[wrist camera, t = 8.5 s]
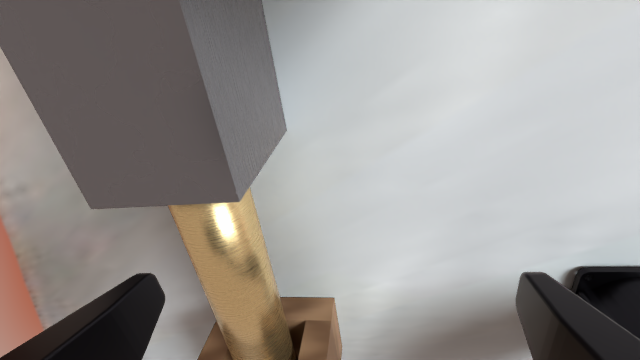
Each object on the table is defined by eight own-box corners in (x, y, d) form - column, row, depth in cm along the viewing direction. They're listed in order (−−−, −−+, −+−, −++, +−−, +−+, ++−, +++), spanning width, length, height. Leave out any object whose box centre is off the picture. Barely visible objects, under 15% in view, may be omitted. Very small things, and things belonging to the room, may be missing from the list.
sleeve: (241, -105, 14) (116, -209, 7) (286, 130, 19) (239, 202, 12) (110, -74, 15) (-103, -138, 8) (185, 139, 20) (90, 209, 13)
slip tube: (243, 100, 16) (205, 128, 12) (305, 352, 25) (295, 412, 21) (167, 108, 17) (110, 137, 13) (255, 350, 26) (236, 407, 22)
